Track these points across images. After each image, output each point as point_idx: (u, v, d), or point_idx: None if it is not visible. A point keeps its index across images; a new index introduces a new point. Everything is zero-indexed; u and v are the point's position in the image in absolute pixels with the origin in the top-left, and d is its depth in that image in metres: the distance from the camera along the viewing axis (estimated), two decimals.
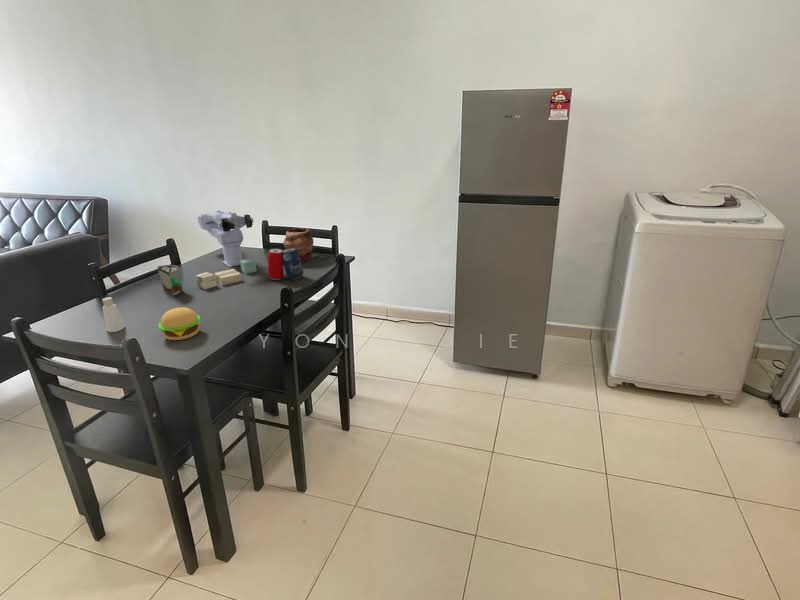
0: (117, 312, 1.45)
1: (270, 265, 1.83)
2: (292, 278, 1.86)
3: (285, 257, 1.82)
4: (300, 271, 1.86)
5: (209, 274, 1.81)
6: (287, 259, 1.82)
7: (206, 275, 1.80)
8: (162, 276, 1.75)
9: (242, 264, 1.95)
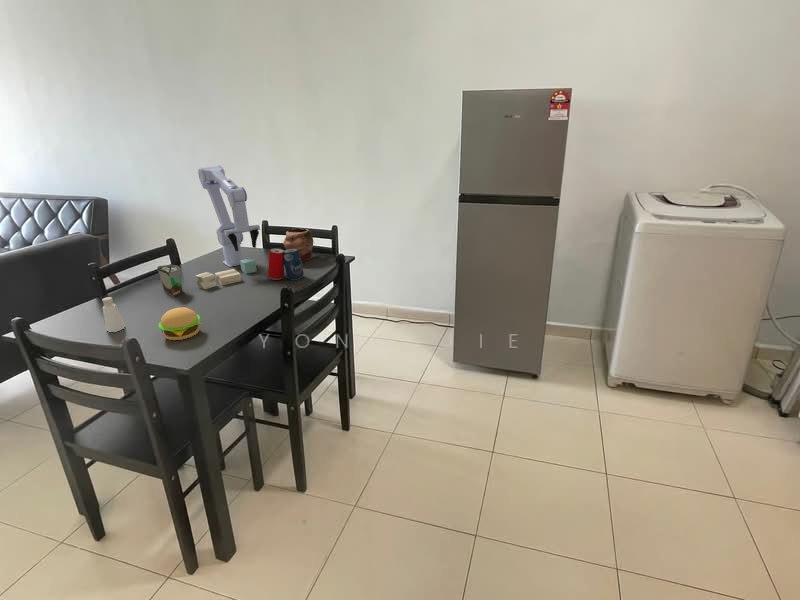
0: (117, 312, 1.45)
1: (271, 265, 1.83)
2: (292, 278, 1.86)
3: (286, 257, 1.82)
4: (300, 272, 1.87)
5: (209, 274, 1.81)
6: (288, 259, 1.82)
7: (206, 275, 1.80)
8: (162, 276, 1.75)
9: (242, 264, 1.95)
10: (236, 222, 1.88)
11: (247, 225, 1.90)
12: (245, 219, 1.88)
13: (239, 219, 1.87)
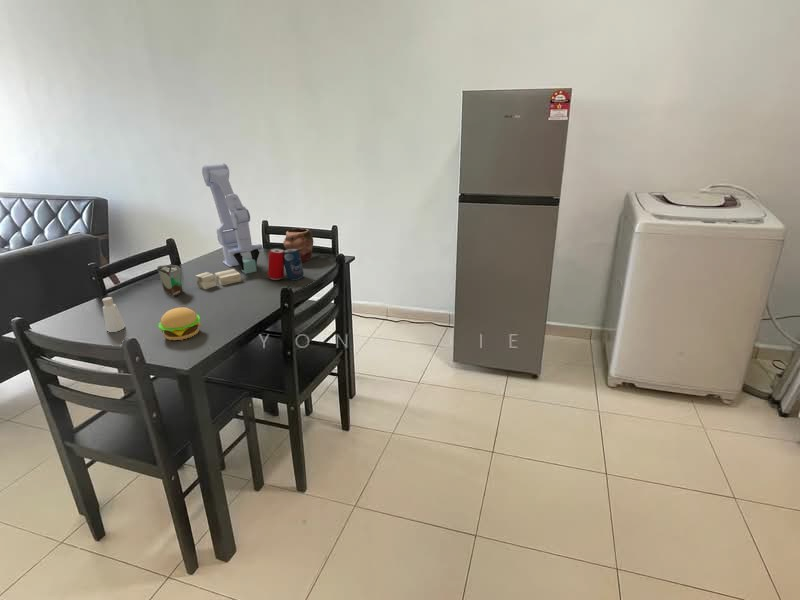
0: (117, 312, 1.45)
1: (271, 265, 1.83)
2: (292, 278, 1.86)
3: (287, 257, 1.82)
4: (301, 272, 1.87)
5: (209, 274, 1.81)
6: (289, 259, 1.82)
7: (206, 275, 1.80)
8: (162, 276, 1.75)
9: None
10: (239, 242, 1.91)
11: (250, 245, 1.93)
12: (248, 239, 1.92)
13: (242, 239, 1.90)
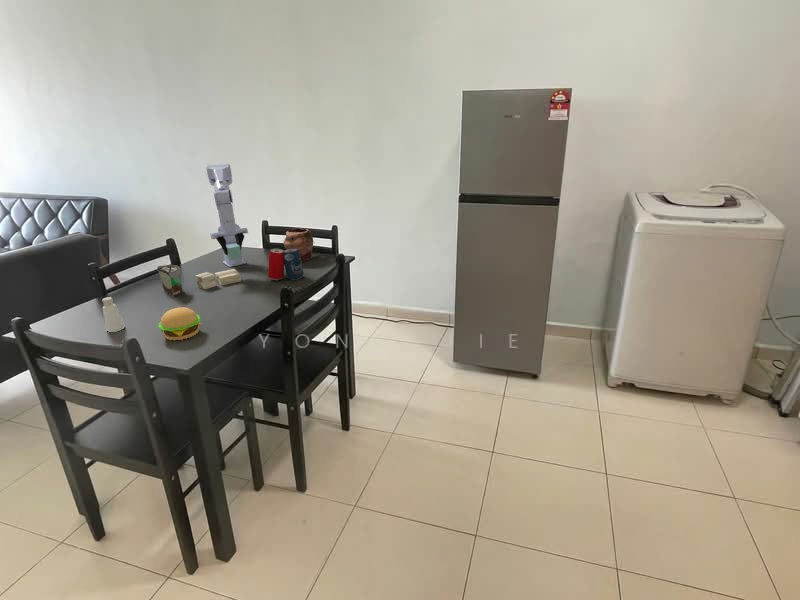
0: (117, 312, 1.45)
1: (271, 265, 1.83)
2: (293, 278, 1.86)
3: (287, 257, 1.82)
4: (301, 271, 1.87)
5: (209, 274, 1.81)
6: (289, 259, 1.82)
7: (206, 275, 1.80)
8: (162, 276, 1.75)
9: (227, 249, 1.85)
10: (223, 225, 1.81)
11: (234, 228, 1.83)
12: (232, 222, 1.82)
13: (226, 222, 1.80)
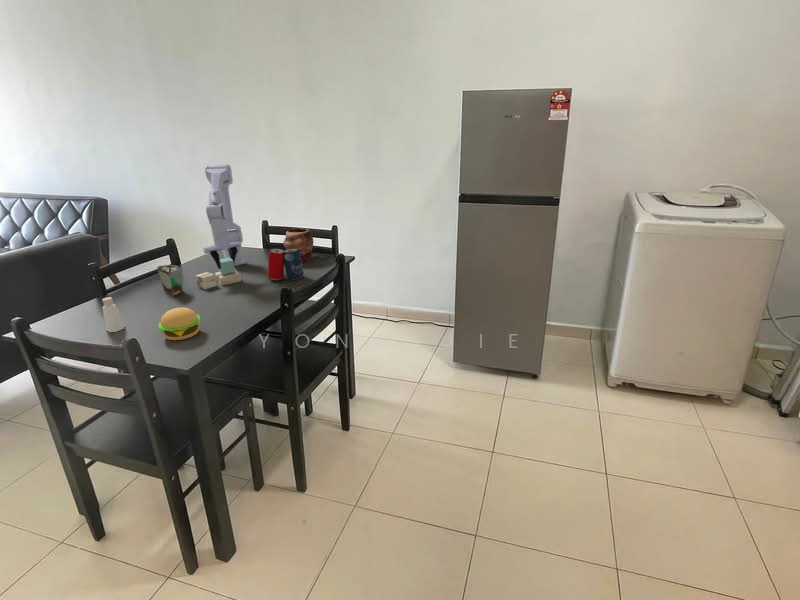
0: (117, 312, 1.45)
1: (271, 265, 1.83)
2: (293, 278, 1.86)
3: (287, 257, 1.82)
4: (301, 271, 1.87)
5: (209, 274, 1.81)
6: (289, 259, 1.82)
7: (206, 275, 1.80)
8: (162, 276, 1.75)
9: (220, 263, 1.83)
10: (215, 239, 1.79)
11: (227, 242, 1.81)
12: (225, 236, 1.80)
13: (218, 236, 1.78)
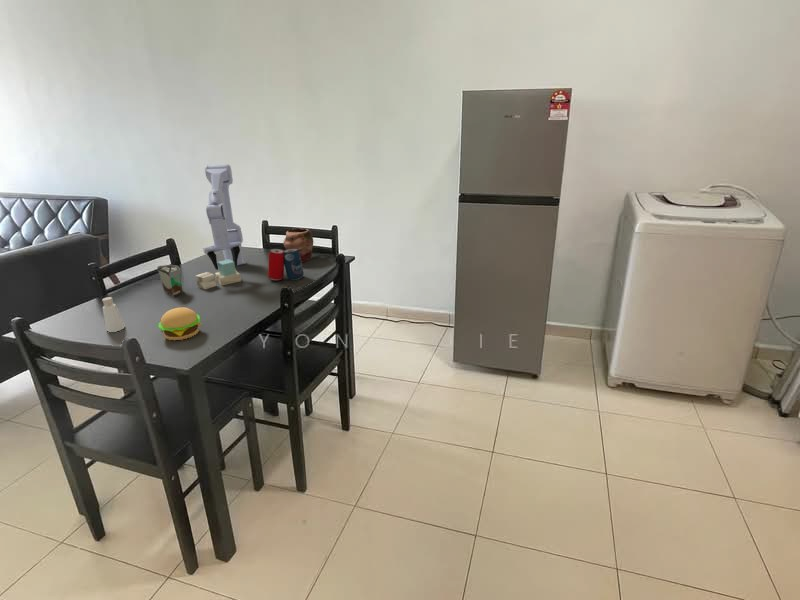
0: (117, 312, 1.45)
1: (271, 265, 1.82)
2: (293, 278, 1.86)
3: (287, 257, 1.82)
4: (301, 271, 1.87)
5: (209, 274, 1.81)
6: (289, 259, 1.82)
7: (206, 275, 1.80)
8: (162, 276, 1.75)
9: (220, 265, 1.83)
10: (215, 239, 1.79)
11: (227, 242, 1.81)
12: (225, 236, 1.80)
13: (218, 236, 1.78)
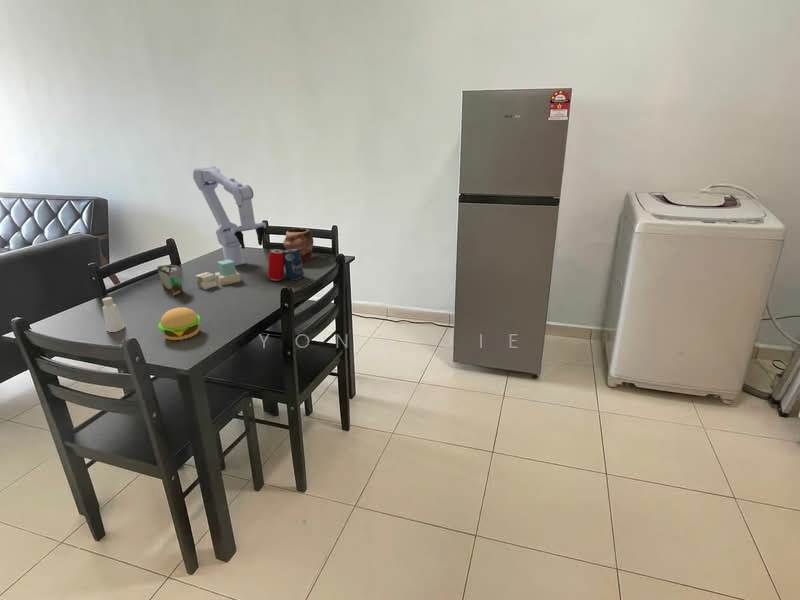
0: (117, 312, 1.45)
1: (272, 265, 1.82)
2: (293, 278, 1.86)
3: (288, 257, 1.82)
4: (301, 271, 1.87)
5: (209, 274, 1.81)
6: (290, 259, 1.82)
7: (206, 275, 1.80)
8: (162, 276, 1.75)
9: (220, 265, 1.83)
10: (242, 220, 1.90)
11: (253, 223, 1.92)
12: (251, 217, 1.91)
13: (245, 217, 1.89)
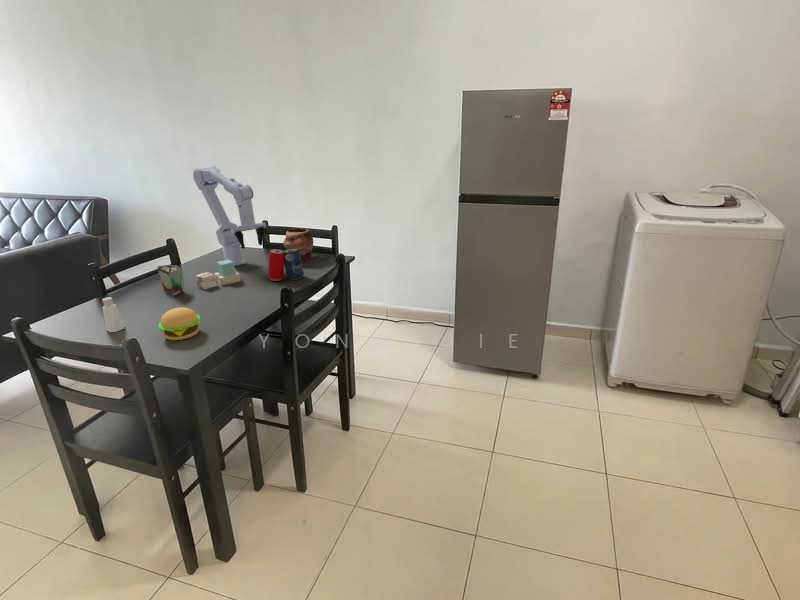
0: (117, 312, 1.45)
1: (272, 265, 1.82)
2: (293, 278, 1.86)
3: (288, 257, 1.82)
4: (301, 271, 1.87)
5: (209, 274, 1.81)
6: (290, 259, 1.82)
7: (206, 275, 1.80)
8: (162, 276, 1.75)
9: (220, 266, 1.83)
10: (242, 220, 1.90)
11: (253, 223, 1.92)
12: (251, 217, 1.91)
13: (245, 217, 1.89)
